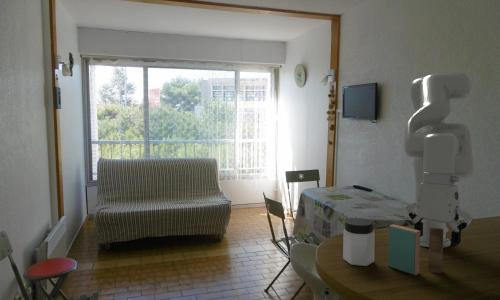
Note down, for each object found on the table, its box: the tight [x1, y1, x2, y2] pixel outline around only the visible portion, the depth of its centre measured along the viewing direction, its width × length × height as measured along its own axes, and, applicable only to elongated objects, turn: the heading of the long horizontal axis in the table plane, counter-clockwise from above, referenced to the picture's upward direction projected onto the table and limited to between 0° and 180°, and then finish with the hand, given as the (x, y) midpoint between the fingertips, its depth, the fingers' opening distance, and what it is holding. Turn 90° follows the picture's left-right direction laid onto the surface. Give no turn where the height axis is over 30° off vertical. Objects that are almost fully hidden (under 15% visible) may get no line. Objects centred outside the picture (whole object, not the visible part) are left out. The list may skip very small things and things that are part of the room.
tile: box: [387, 223, 421, 276], centre depth 101 cm, size 2×8×12 cm, turn 38°
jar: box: [342, 217, 376, 267], centre depth 108 cm, size 9×8×12 cm
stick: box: [427, 227, 444, 274], centre depth 100 cm, size 3×3×12 cm
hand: (436, 241), depth 99 cm, fingers open, 9 cm apart
